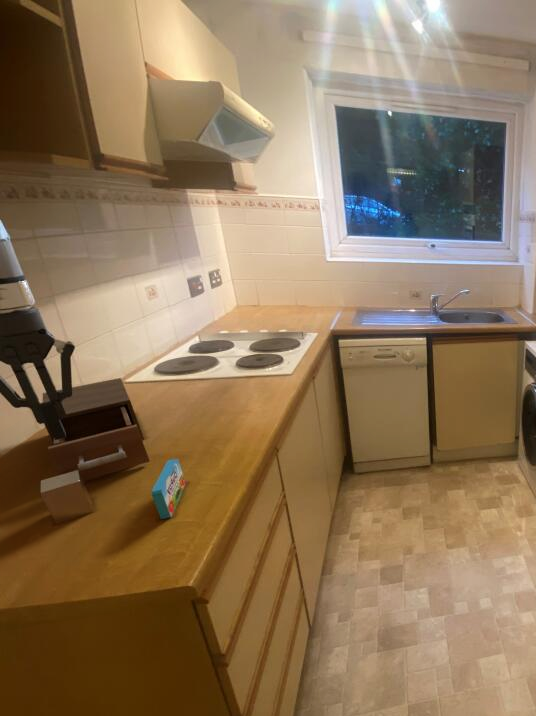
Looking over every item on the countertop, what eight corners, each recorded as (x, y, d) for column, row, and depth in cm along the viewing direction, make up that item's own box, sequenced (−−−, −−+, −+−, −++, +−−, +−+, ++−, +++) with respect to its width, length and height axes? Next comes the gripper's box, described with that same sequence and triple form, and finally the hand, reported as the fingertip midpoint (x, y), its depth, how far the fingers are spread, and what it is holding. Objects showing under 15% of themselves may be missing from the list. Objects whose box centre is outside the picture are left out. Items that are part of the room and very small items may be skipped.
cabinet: (144, 439, 107) (130, 399, 103) (61, 462, 97) (42, 419, 93) (133, 413, 120) (120, 377, 116) (59, 431, 110) (42, 393, 106)
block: (56, 524, 78) (40, 492, 76) (55, 511, 82) (40, 480, 79) (93, 511, 82) (79, 480, 79) (91, 500, 85) (78, 469, 82)
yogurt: (171, 518, 80) (161, 490, 78) (161, 520, 80) (151, 492, 77) (185, 483, 90) (177, 457, 88) (177, 484, 90) (168, 459, 87)
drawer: (154, 472, 92) (140, 435, 89) (66, 499, 83) (47, 460, 80) (138, 432, 108) (126, 400, 105) (63, 452, 99) (47, 417, 96)
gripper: (-63, 319, 64) (7, 457, 73) (60, 306, 72) (109, 431, 81) (-56, 311, 69) (8, 441, 78) (58, 300, 77) (104, 418, 86)
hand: (60, 436), depth 79 cm, fingers closed
